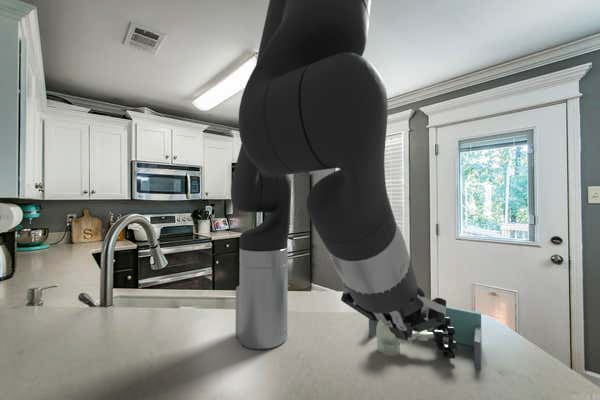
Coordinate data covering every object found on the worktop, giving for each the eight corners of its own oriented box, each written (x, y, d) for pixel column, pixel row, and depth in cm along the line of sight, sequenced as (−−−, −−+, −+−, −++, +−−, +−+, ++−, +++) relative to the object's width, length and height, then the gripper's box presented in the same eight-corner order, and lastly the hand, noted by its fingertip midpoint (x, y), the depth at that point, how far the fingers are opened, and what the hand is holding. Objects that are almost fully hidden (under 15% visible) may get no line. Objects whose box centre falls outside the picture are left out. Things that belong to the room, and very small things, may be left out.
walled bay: (368, 336, 52) (368, 305, 52) (382, 321, 59) (381, 294, 59) (480, 368, 42) (480, 329, 42) (481, 346, 48) (481, 312, 48)
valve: (378, 360, 44) (457, 368, 42) (378, 320, 44) (457, 325, 42) (374, 340, 51) (443, 346, 48) (374, 305, 51) (442, 309, 49)
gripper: (444, 235, 27) (458, 318, 36) (328, 229, 34) (365, 299, 44) (437, 305, 22) (455, 378, 32) (305, 280, 30) (352, 346, 40)
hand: (403, 332), depth 38 cm, fingers closed
